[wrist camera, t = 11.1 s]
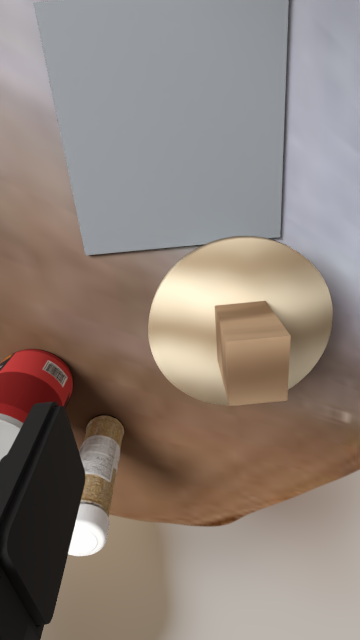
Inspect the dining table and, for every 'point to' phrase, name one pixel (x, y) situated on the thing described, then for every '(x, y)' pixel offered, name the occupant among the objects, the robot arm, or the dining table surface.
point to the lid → (240, 321)
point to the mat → (169, 117)
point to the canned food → (29, 389)
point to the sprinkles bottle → (97, 484)
